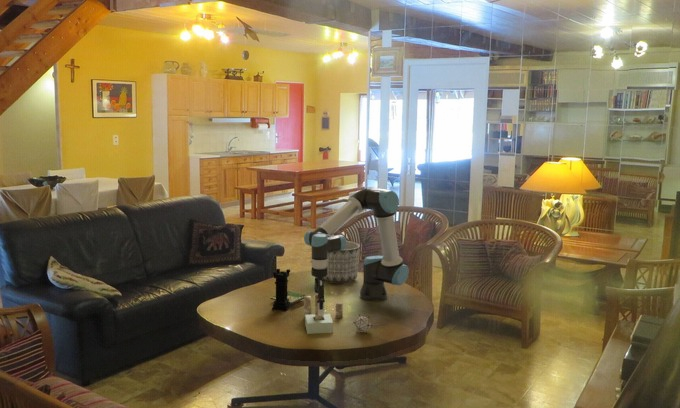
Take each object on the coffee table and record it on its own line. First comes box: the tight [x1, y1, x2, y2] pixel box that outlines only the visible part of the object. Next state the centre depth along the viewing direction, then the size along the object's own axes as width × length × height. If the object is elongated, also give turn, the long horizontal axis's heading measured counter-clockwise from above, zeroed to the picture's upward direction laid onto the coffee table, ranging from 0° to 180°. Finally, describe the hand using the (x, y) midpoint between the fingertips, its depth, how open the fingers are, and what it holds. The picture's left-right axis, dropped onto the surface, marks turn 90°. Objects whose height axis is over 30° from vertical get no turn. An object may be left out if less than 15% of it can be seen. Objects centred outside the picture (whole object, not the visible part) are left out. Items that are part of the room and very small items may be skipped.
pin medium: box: [303, 295, 312, 320], centre depth 295 cm, size 4×4×11 cm
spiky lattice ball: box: [352, 313, 374, 335], centre depth 277 cm, size 9×8×10 cm
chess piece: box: [271, 268, 292, 312], centre depth 309 cm, size 8×8×20 cm
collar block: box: [304, 313, 334, 335], centre depth 281 cm, size 12×12×5 cm
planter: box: [322, 240, 361, 284], centre depth 361 cm, size 26×26×22 cm
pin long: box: [314, 295, 322, 321], centre depth 280 cm, size 4×4×16 cm
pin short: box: [335, 301, 344, 319], centre depth 297 cm, size 4×4×7 cm
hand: (319, 310), depth 280 cm, fingers open, 13 cm apart
